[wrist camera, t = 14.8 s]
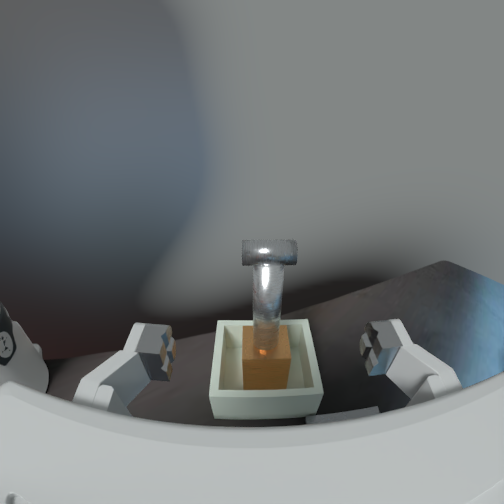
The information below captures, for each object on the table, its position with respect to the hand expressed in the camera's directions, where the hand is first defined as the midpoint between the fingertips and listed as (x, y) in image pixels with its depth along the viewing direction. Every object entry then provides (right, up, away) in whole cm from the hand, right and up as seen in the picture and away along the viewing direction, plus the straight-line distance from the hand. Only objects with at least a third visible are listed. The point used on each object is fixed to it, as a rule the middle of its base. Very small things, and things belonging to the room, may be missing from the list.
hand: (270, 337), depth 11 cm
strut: (+1, -14, +25) cm, 29 cm away
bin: (+1, -15, +26) cm, 30 cm away
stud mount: (+11, -21, +15) cm, 28 cm away
